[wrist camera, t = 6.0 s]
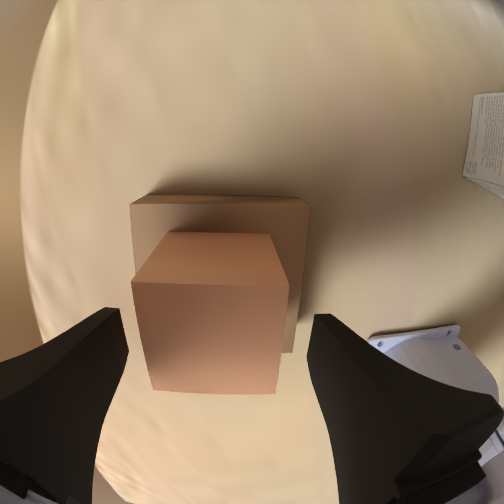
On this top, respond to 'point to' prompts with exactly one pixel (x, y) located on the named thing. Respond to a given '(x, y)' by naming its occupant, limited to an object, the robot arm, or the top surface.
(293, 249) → the plinth
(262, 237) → the block
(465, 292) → the top surface
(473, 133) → the light bulb box
